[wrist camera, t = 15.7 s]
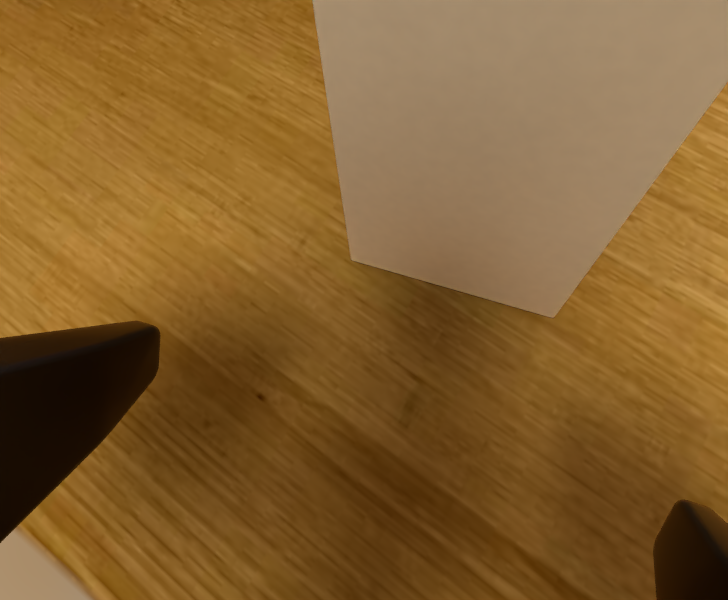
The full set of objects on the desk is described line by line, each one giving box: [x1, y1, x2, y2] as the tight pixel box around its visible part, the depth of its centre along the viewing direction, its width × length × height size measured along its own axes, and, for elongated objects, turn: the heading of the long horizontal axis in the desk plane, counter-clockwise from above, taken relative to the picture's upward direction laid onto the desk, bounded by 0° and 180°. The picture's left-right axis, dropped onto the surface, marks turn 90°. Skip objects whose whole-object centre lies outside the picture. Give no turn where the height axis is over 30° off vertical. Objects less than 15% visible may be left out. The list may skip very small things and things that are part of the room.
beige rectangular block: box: [312, 0, 728, 318], centre depth 13 cm, size 3×7×13 cm, turn 71°
